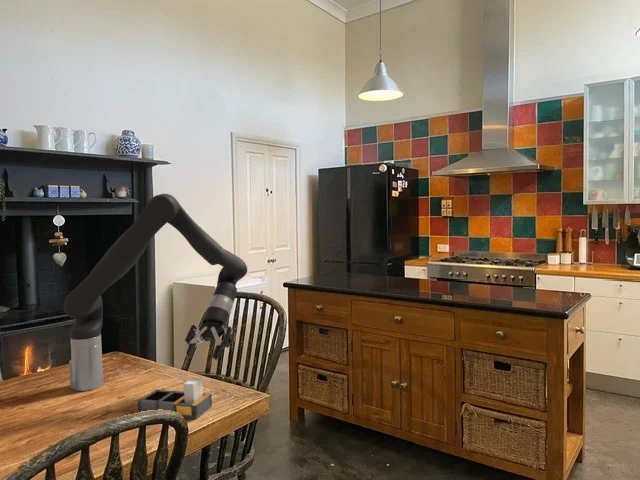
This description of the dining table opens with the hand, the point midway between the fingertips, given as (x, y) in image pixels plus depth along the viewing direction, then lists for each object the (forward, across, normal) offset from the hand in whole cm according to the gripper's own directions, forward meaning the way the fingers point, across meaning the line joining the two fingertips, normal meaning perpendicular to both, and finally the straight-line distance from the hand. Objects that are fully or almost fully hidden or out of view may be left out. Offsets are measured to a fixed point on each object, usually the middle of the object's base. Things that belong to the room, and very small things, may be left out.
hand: (201, 357), depth 140 cm
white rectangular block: (+13, 0, +6) cm, 14 cm away
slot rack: (+14, -6, +6) cm, 16 cm away
